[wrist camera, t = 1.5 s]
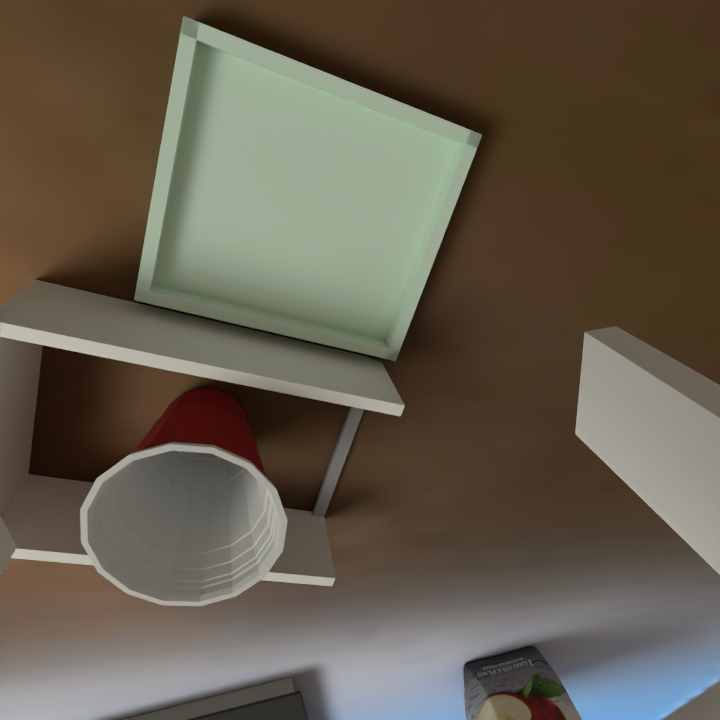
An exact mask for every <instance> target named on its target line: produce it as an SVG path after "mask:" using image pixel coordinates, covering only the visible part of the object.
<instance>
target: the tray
mask: <svg viewBox="0 0 720 720" xmlns="http://www.w3.org/2000/svg"><path fill="white" fill-rule="evenodd" d="M481 137H482V134H479V133H477V132H474V131H472V130H469V129H467V128H464V127H462V126H459V125H457V124H454V123H452V122H449V121H447V120H444V119H442V118H439V117H436V116H434V115H431V114H429V113H426V112H424V111H421V110H419V109H416V108H414V107H411V106H409V105H406V104H404V103H401V102H399V101H396V100H394V99H391V98H389V97H386V96H384V95H381V94H379V93H376V92H374V91H371V90H369V89H366V88H364V87H361V86H358V85H356V84H353V83H351V82H348V81H346V80H343V79H341V78H338V77H336V76H333V75H331V74H328V73H326V72H323V71H321V70H318V69H316V68H313V67H311V66H308V65H306V64H303V63H301V62H298V61H296V60H293V59H291V58H288V57H285V56H283V55H280V54H278V53H275V52H273V51H270V50H268V49H265V48H263V47H260V46H258V45H255V44H253V43H250V42H248V41H245V40H243V39H240V38H238V37H235V36H233V35H230V34H228V33H225V32H223V31H220V30H218V29H215V28H212V27H210V26H207V25H205V24H202V23H200V22H197V21H195V20H192V19H190V18H187V17H185V16H183V21H182V27H181V32H180V38H179V44H178V50H177V56H176V61H175V67H174V73H173V79H172V84H171V90H170V96H169V102H168V107H167V113H166V119H165V125H164V130H163V136H162V142H161V148H160V153H159V159H158V165H157V171H156V176H155V182H154V188H153V194H152V199H151V205H150V211H149V217H148V222H147V228H146V234H145V240H144V245H143V251H142V257H141V263H140V268H139V274H138V280H137V286H136V292H135V297H134V300H136V301H140V302H144V303H148V304H153V305H157V306H161V307H166V308H170V309H174V310H178V311H183V312H187V313H191V314H196V315H200V316H204V317H208V318H213V319H217V320H221V321H226V322H230V323H234V324H238V325H243V326H247V327H251V328H256V329H260V330H264V331H268V332H273V333H277V334H281V335H286V336H290V337H294V338H298V339H303V340H307V341H311V342H316V343H320V344H324V345H328V346H333V347H337V348H341V349H346V350H350V351H354V352H358V353H363V354H367V355H371V356H376V357H380V358H384V359H388V360H393V361H396V359H397V357H398V354H399V351H400V349H401V346H402V344H403V341H404V338H405V336H406V333H407V330H408V328H409V325H410V323H411V320H412V317H413V315H414V312H415V310H416V307H417V304H418V302H419V299H420V296H421V294H422V291H423V289H424V286H425V283H426V281H427V278H428V276H429V273H430V270H431V268H432V265H433V262H434V260H435V257H436V255H437V252H438V249H439V247H440V244H441V242H442V239H443V236H444V234H445V231H446V228H447V226H448V223H449V221H450V218H451V215H452V213H453V210H454V208H455V205H456V202H457V200H458V197H459V194H460V192H461V189H462V187H463V184H464V181H465V179H466V176H467V174H468V171H469V168H470V166H471V163H472V160H473V158H474V155H475V153H476V150H477V147H478V145H479V142H480V140H481Z"/></svg>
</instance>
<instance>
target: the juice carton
mask: <svg viewBox="0 0 720 720" xmlns="http://www.w3.org/2000/svg"><path fill="white" fill-rule="evenodd" d="M464 687H465V698H464V699H465V713H466V720H582V719H581V717H580V715H579V713H578V712H577V710H576V708H575V706H574V704H573V703H572V701H571V699H570V697H569V695H568V694H567V692H566V690H565V688H564V686H563V685H562V683H561V681H560V680H559V678H558V677H557V675H556V674H555V672H554V671H553V670H552V668H551V667H550V665H549V664H548V663H547V661H546V660H545V659H544V657H543V656H542V655H541V654H540V652H539V651H538V650H537V649H536V648H535V647H529V648H524V649H521V650H517V651H514V652H510V653H507V654H504V655H500V656H496V657H492V658H488V659H483V660H479V661H475V662H472V663H469V664H466V665H465V666H464Z"/></svg>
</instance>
